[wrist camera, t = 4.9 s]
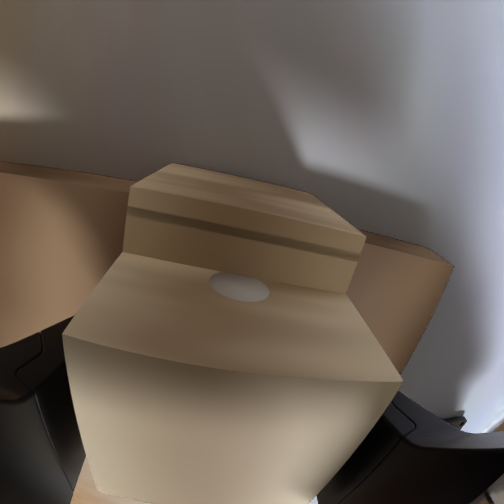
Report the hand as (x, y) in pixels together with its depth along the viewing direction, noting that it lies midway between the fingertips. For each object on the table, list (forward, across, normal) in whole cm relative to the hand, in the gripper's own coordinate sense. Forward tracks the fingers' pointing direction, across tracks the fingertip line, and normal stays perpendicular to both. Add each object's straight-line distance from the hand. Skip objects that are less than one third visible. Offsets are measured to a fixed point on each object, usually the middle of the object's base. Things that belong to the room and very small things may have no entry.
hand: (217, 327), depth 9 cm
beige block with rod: (+3, 0, +2) cm, 4 cm away
